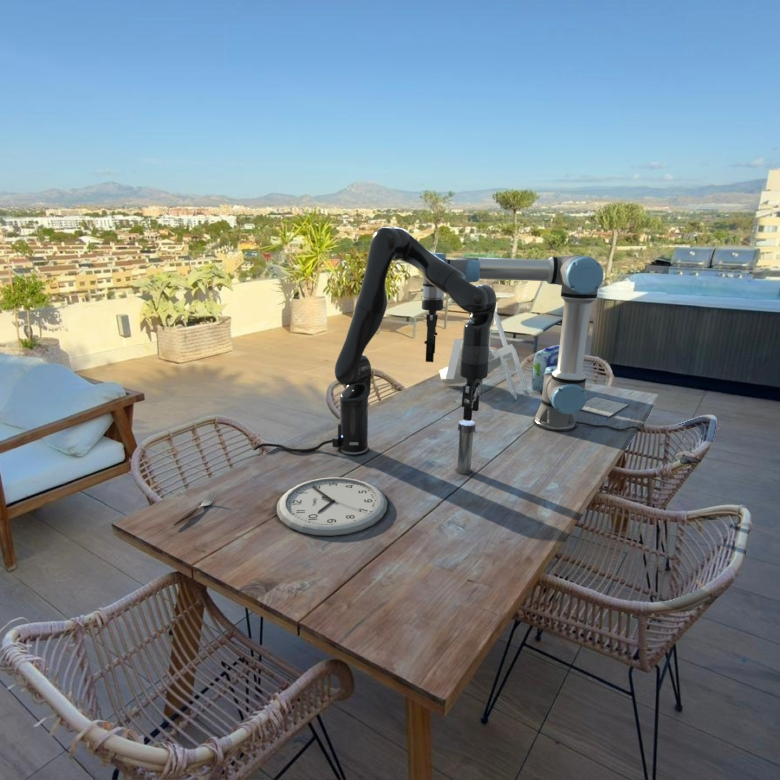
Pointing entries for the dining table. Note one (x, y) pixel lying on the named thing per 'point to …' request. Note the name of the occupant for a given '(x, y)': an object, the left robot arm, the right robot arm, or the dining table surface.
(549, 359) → the lunch box
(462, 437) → the silver metal cylinder
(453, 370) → the white plastic object
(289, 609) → the dining table surface
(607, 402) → the invitation card
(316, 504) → the wall clock
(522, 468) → the dining table surface
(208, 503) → the fork
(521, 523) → the dining table surface
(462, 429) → the lid
